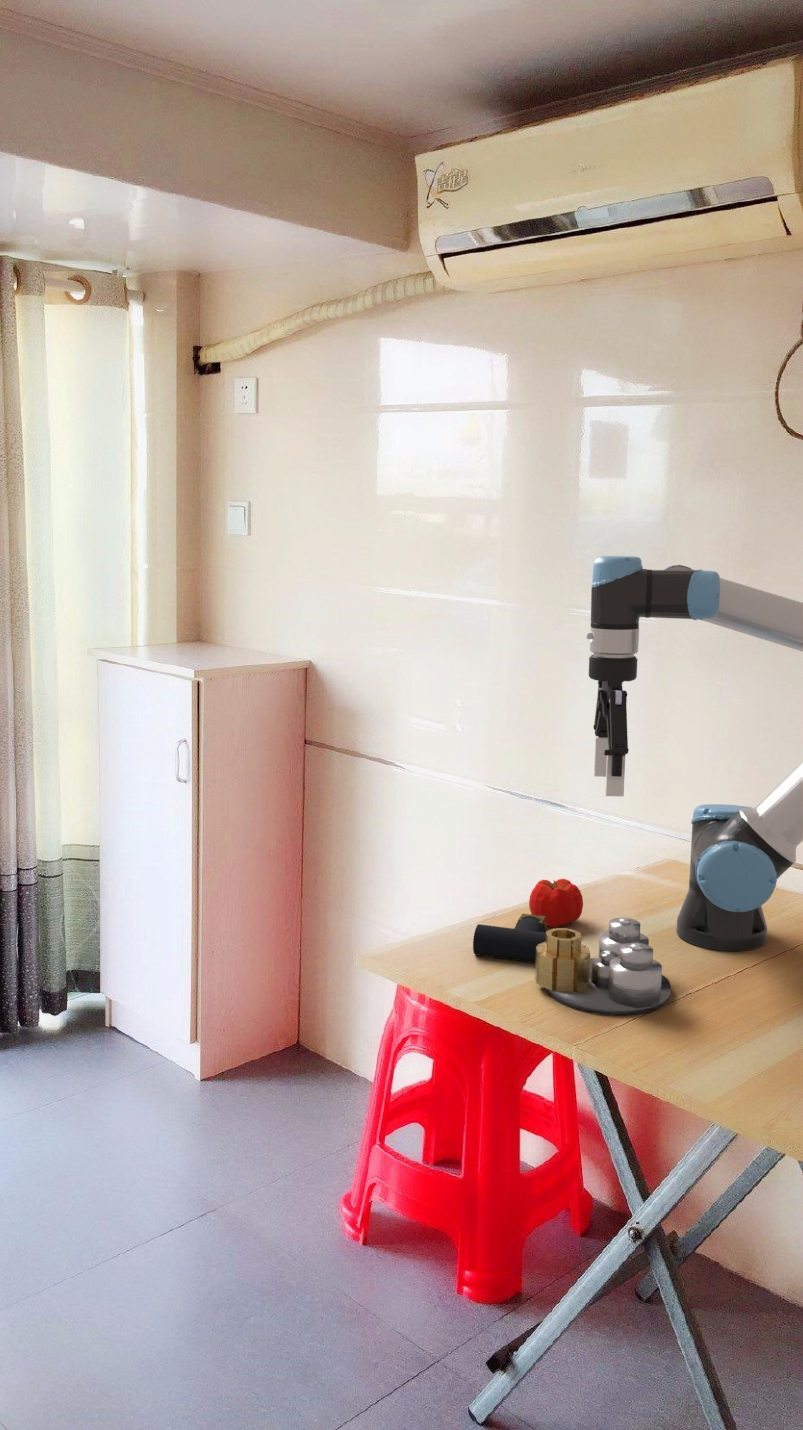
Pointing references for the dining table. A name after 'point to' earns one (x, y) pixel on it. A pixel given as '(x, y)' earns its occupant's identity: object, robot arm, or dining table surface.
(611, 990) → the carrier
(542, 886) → the tomato
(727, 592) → the robot arm
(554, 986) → the brass stepped collar
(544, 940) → the pipe connector
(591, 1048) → the dining table surface
